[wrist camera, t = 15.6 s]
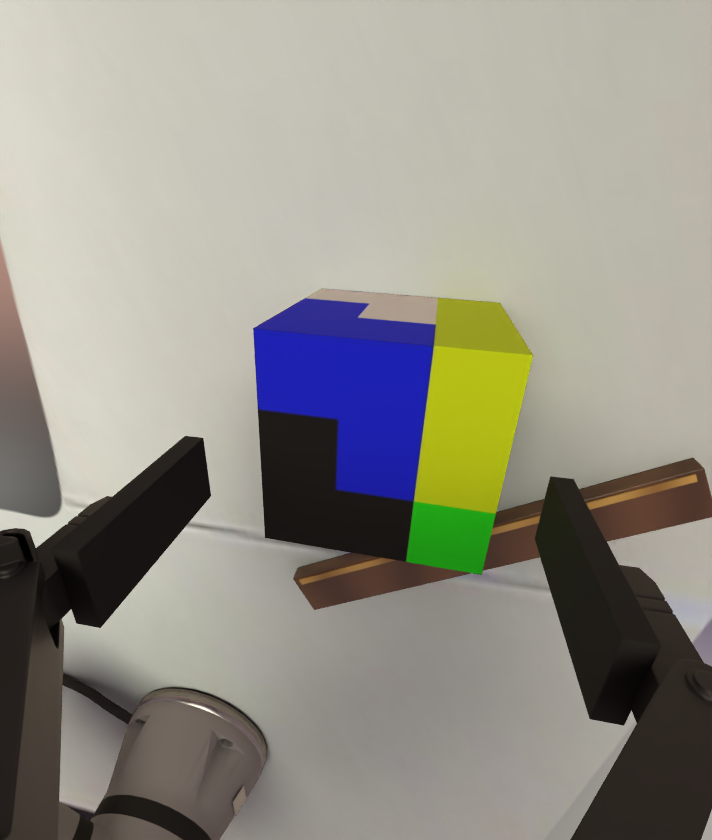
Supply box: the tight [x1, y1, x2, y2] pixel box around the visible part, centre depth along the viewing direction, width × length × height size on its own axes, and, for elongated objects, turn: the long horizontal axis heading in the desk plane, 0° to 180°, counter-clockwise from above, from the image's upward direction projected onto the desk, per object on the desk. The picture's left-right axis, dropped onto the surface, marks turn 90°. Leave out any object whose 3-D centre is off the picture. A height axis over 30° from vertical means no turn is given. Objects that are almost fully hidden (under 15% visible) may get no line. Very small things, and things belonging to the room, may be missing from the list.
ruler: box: [293, 458, 712, 610], centre depth 30 cm, size 28×4×1 cm, turn 118°
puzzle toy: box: [253, 289, 533, 575], centre depth 22 cm, size 10×10×10 cm
